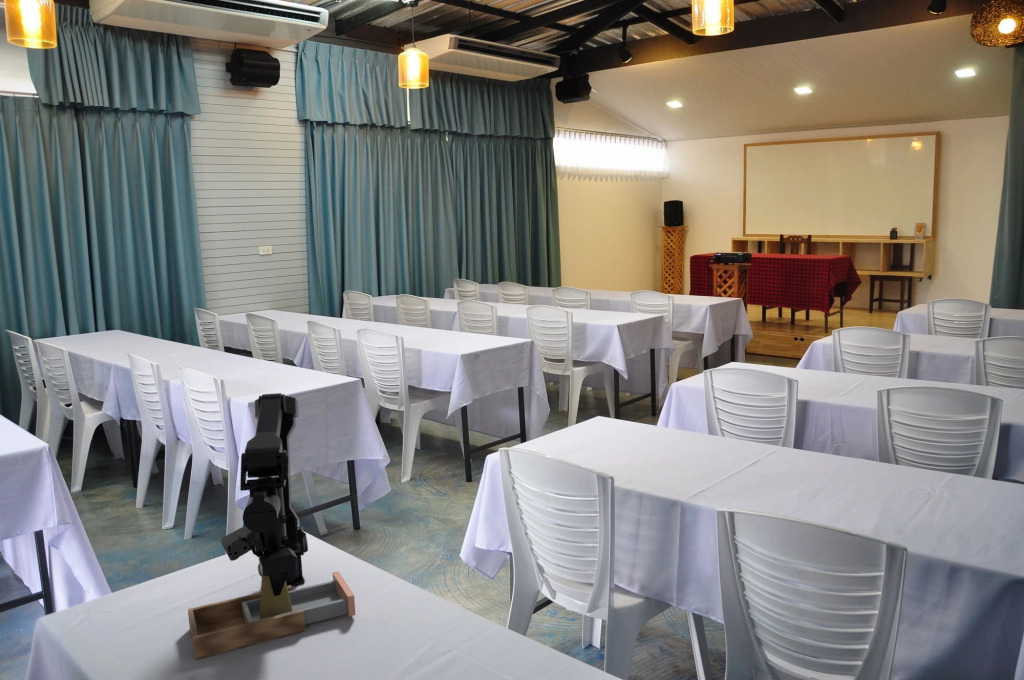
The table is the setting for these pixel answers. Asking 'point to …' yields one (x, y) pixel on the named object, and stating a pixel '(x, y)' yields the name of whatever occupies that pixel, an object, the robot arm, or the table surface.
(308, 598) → the tray
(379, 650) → the table surface
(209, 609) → the brown wooden box
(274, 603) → the olive pawn figure
